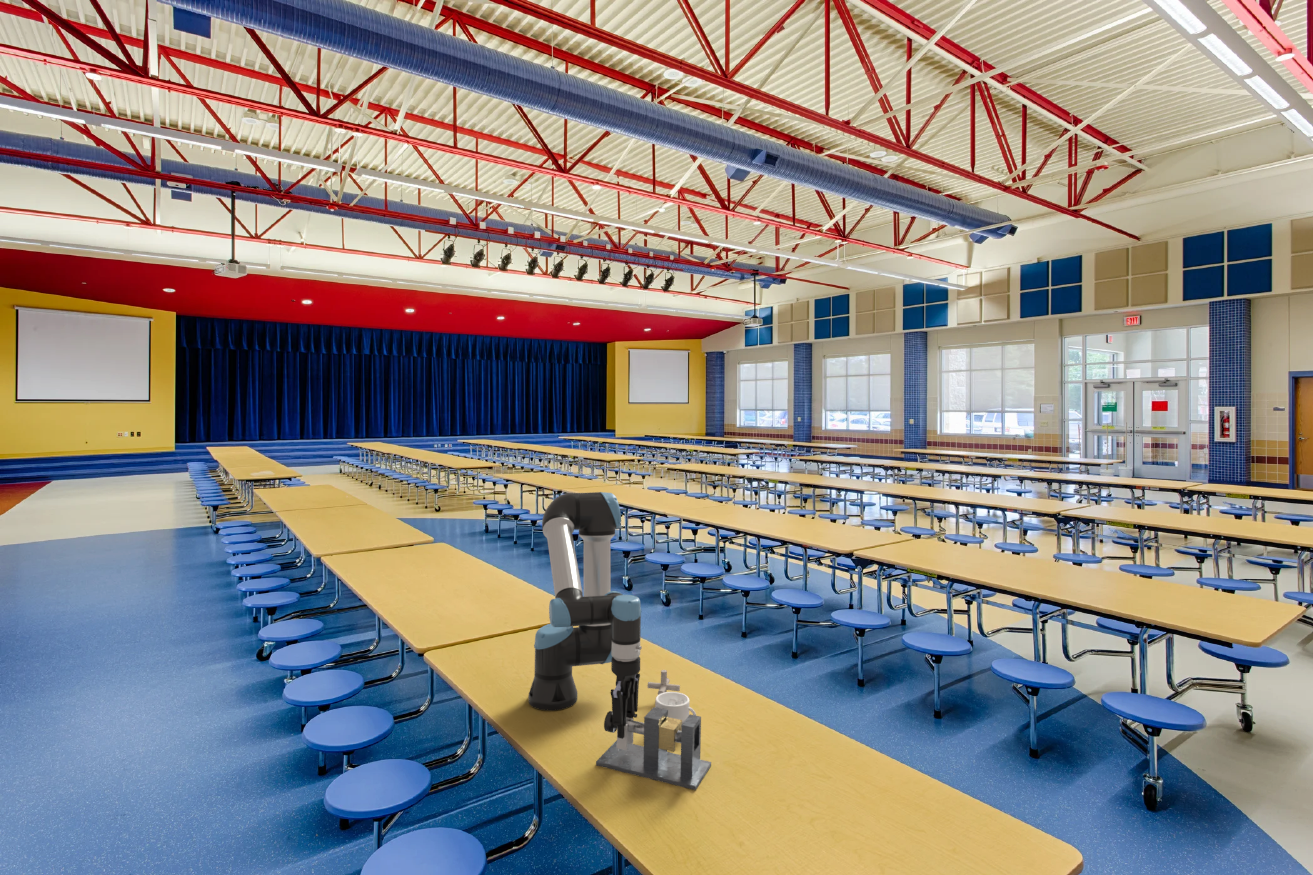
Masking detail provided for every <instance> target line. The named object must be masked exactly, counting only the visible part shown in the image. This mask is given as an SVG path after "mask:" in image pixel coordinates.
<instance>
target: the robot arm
mask: <svg viewBox="0 0 1313 875" xmlns="http://www.w3.org/2000/svg"><path fill="white" fill-rule="evenodd" d="M620 508H621V507H620V503H619V501H618V498H617V496H616V495H615V494H614V493H612V492H603V491H600V492H599V491H596V492H594V491H593V492H568V493H567V492H566V493H563V494H560V495H558V496H557V497H556V498H554V499H553V501H551V502H550V503H549V505H548V506H547V508H546V509H545V511H544V514H543V516H542V519H541V520H542V521H541V528H542V533H543V536H544V537H545V538H546V539H547V547H548V553H549V560H550V569H551V578H552V582H553V583H552V584H553V591H554V596H555V598H552V599H550V600H549V606H548V607H549V608H548V614H549V616H548V617H549V623H547V624H546V625H543V626H542V627H540V628H538V629H537V631H536V633H535V636H534V645H533V646H534V677H533V680H532V682H531V686H530V688H529V691H528V704H529V705H530V707H532V708H534V709H536V710H541V711H548V712H549V711H550V712H551V711H559V710H560V711H561V710H564V709H568V708H570V707H572V706H574V705H575V704H576V703H577V701H578V690H577V686H576V683H575V680H574V677H573V668H574V667H581V666H590V665H591V666H592V665H605V664H610V663H611V666H610V667H611V670H610V671H611V673H612V674H614V675H615V676H616V678H615V687H614V688H613V689H611V690H610V692H609V693H610V697H611V711H612V718H613V725H616V726H617V730H616V740H617V748H618V749H622V750H627V749H628V743H630V744H634V733H633V732H629V731H628V724H626V719H629V720H633V721H635V719H637V718H638V713H637V712H638V708H639V706H638V705H639V704H638V703H639V689H640V688H639V687H640V686H639V684H640V678H641V674H640V672H641V657H640V656H641V651H642V646H641V631H642V630H641V628H642V627H641V623H642V622H641V621H642V620H641V618H642V608H641V604H642V603H641V600H640V598H639V597H638V596H637V595H633V594H623V593H621V591H616V590H611V586H612V585H611V582H612V581H611V580H612V579H611V540H612V539H613V538H614V536H616V530H617V529H620V527H621V524H622V523H621V522H622V515H621V509H620ZM576 530H577V531H578V536H579V537H580V538H581V539H582V540H583V589H582V583H581V577H580V571H579V565H578V561H577V560H578V559H577V552H576V549H575V543H574V536H573V533H574V532H575V531H576Z"/></svg>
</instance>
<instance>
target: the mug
mask: <svg viewBox="0 0 1313 875" xmlns="http://www.w3.org/2000/svg"><path fill="white" fill-rule="evenodd" d="M654 705H655V707H656V708H661V709H666V710H668V717H670V718H675V719H679V720H682V724H683V722H684V721H685V720H686V719H687V717H688V716H689V715H690V712H691V714H692V715H695V716H697V713H696V711H695V710H694V708H692V707H690V697H689V696H688V695H686V694H685V693H682V692H679V691H667V692H665V693H661V694H659V695H658V694H657V696H656V697H655V704H654Z"/></svg>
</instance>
